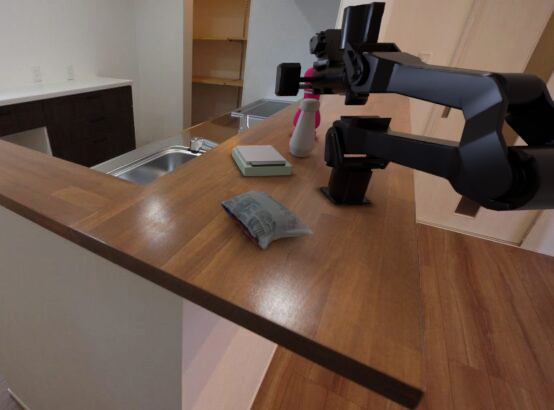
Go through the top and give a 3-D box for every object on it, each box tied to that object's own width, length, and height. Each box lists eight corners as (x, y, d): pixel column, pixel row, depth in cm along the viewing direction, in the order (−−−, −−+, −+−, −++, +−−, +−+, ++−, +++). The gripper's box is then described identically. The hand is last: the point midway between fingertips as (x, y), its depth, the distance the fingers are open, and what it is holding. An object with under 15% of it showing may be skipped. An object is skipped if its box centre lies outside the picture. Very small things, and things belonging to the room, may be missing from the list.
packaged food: (264, 205, 52) (268, 179, 49) (311, 245, 42) (319, 215, 40) (218, 215, 49) (219, 188, 46) (257, 260, 39) (262, 229, 37)
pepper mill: (285, 134, 89) (298, 59, 79) (306, 132, 91) (321, 58, 81) (300, 141, 83) (316, 61, 73) (322, 139, 85) (340, 61, 75)
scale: (290, 175, 63) (293, 163, 62) (244, 176, 62) (245, 164, 61) (272, 154, 73) (273, 144, 72) (231, 155, 73) (232, 145, 71)
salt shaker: (307, 160, 70) (320, 103, 64) (284, 155, 73) (293, 99, 67) (315, 153, 74) (328, 99, 68) (292, 148, 77) (302, 96, 71)
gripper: (401, 26, 52) (349, 42, 67) (297, 25, 51) (267, 42, 65) (388, 95, 56) (340, 96, 70) (290, 96, 54) (263, 96, 69)
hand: (304, 82), depth 69 cm, fingers open, 9 cm apart
